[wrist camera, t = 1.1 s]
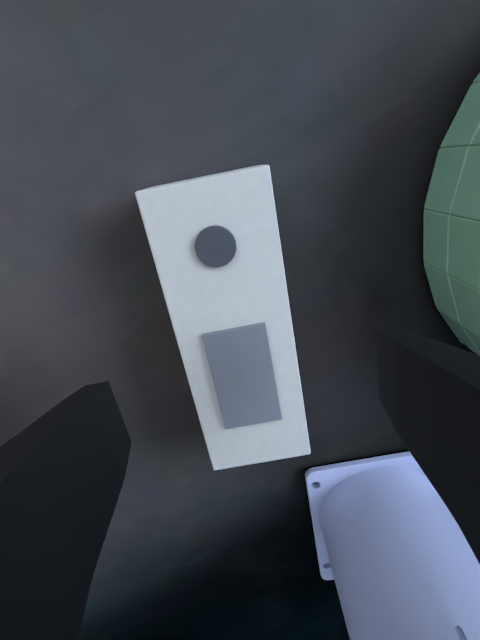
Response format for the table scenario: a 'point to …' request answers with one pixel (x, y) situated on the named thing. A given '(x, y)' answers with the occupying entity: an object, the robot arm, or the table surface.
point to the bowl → (456, 224)
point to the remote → (230, 311)
